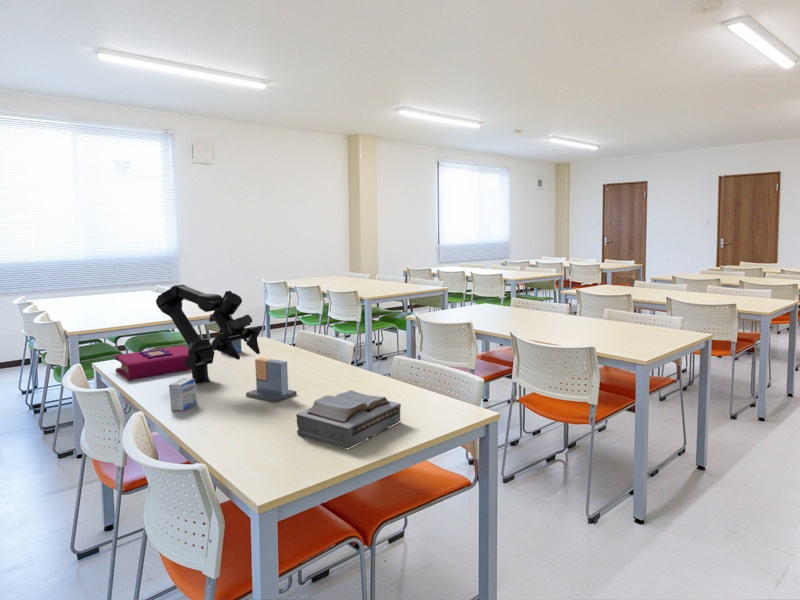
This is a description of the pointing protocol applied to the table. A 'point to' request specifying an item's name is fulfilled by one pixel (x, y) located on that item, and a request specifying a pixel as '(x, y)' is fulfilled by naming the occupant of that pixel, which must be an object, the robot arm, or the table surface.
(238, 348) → the label tape cartridge
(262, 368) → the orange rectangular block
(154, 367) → the book
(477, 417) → the table surface
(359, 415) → the bible
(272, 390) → the stand
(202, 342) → the robot arm
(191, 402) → the medicine box
